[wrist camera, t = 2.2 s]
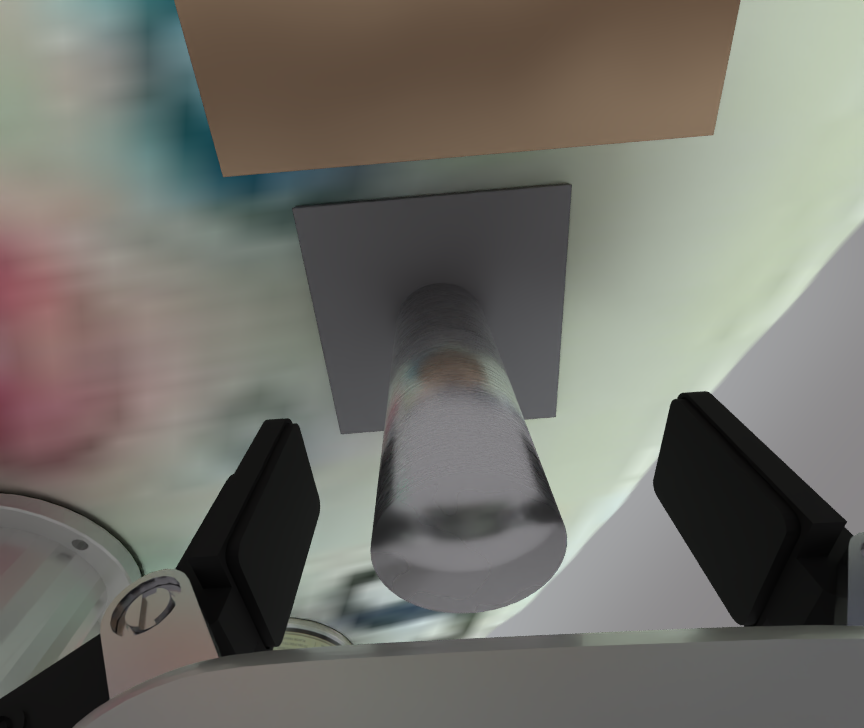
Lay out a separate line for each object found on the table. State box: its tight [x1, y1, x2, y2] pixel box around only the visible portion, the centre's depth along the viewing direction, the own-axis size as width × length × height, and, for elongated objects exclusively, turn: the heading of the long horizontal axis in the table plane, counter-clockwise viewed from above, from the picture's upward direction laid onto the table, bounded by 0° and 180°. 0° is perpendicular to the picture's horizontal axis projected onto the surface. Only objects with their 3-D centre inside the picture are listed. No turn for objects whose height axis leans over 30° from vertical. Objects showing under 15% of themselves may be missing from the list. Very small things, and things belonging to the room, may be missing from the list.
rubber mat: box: [292, 183, 572, 434], centre depth 20 cm, size 11×11×1 cm
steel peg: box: [371, 283, 567, 613], centre depth 14 cm, size 4×4×12 cm
